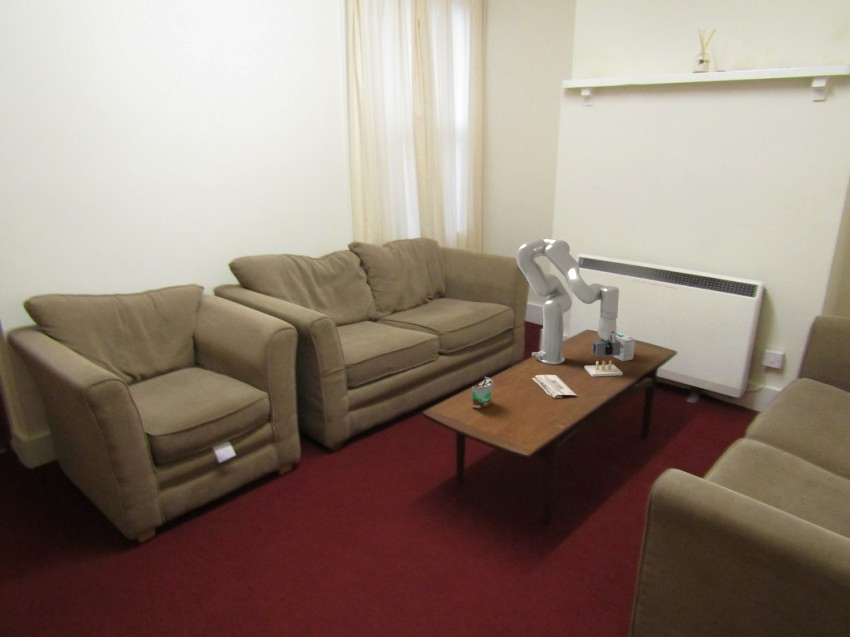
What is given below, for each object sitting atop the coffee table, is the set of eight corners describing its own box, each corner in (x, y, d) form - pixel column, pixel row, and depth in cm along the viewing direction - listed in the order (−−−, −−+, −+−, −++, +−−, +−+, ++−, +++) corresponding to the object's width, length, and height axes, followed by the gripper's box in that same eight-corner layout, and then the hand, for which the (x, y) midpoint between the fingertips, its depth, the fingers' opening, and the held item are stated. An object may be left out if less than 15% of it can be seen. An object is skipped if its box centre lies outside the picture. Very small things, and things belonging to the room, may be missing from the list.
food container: (485, 413, 222) (485, 390, 219) (471, 409, 225) (471, 386, 222) (498, 401, 232) (499, 379, 229) (484, 398, 235) (485, 376, 232)
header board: (592, 376, 255) (593, 365, 254) (584, 368, 265) (585, 357, 263) (622, 375, 257) (623, 364, 255) (613, 366, 266) (614, 356, 265)
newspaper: (530, 379, 255) (531, 374, 254) (556, 380, 257) (557, 374, 256) (550, 400, 233) (551, 395, 232) (577, 401, 235) (578, 395, 235)
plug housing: (596, 356, 255) (597, 343, 253) (592, 352, 260) (592, 340, 258) (619, 354, 256) (620, 342, 254) (615, 351, 261) (616, 338, 259)
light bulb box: (607, 354, 282) (609, 333, 278) (618, 352, 284) (620, 332, 281) (623, 361, 272) (625, 340, 269) (633, 359, 275) (636, 338, 272)
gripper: (593, 309, 260) (591, 346, 265) (608, 319, 244) (605, 359, 249) (608, 308, 261) (606, 345, 266) (625, 318, 244) (622, 358, 250)
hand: (606, 351), depth 257 cm, fingers closed on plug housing, 5 cm apart
